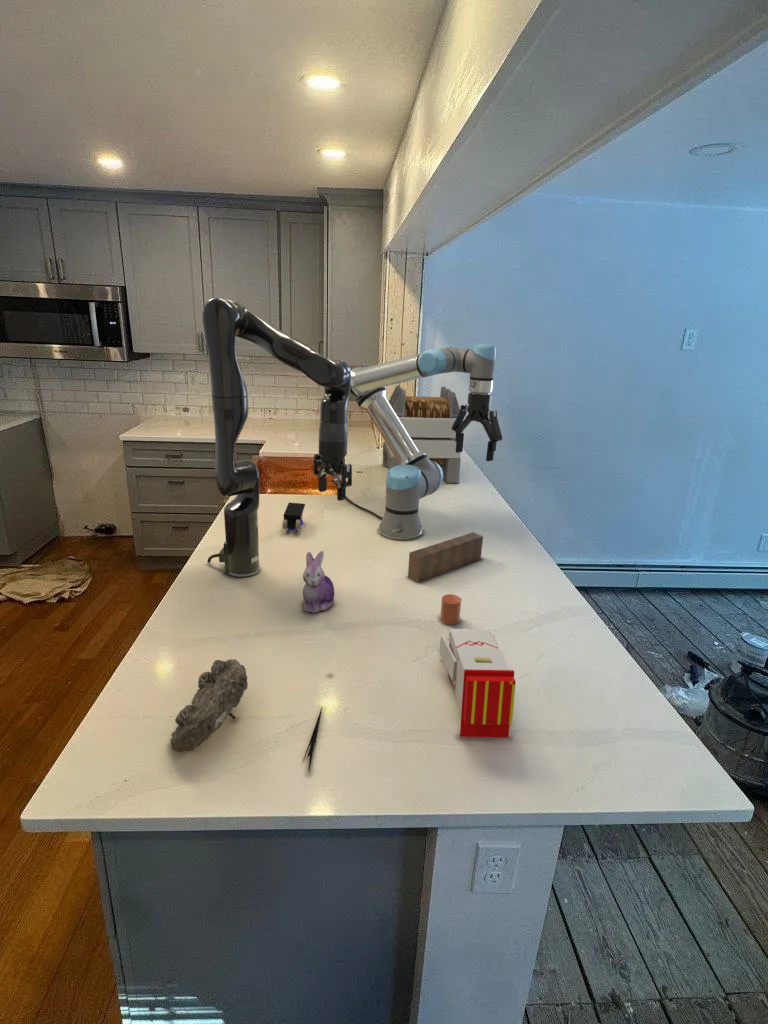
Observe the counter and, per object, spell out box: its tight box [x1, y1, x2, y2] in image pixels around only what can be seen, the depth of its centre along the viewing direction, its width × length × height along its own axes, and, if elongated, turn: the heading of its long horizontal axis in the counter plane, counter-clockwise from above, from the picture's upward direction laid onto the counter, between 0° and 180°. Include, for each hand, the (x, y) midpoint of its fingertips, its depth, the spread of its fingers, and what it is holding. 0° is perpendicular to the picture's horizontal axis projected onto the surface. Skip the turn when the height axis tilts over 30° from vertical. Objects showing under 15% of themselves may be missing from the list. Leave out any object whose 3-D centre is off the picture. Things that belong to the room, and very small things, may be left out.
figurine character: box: [282, 502, 306, 535], centre depth 199 cm, size 7×8×15 cm
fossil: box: [170, 658, 249, 753], centre depth 106 cm, size 22×10×15 cm
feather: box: [301, 673, 332, 771], centre depth 108 cm, size 2×28×2 cm
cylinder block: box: [439, 593, 462, 626], centre depth 145 cm, size 5×5×6 cm
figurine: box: [302, 550, 335, 613], centre depth 147 cm, size 9×10×15 cm
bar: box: [407, 531, 484, 583], centre depth 174 cm, size 28×4×8 cm, turn 131°
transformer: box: [381, 384, 465, 484], centre depth 268 cm, size 34×33×41 cm
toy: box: [438, 628, 517, 738], centre depth 117 cm, size 12×13×30 cm
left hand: (331, 495), depth 155 cm, fingers open, 8 cm apart
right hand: (473, 456), depth 192 cm, fingers open, 13 cm apart
